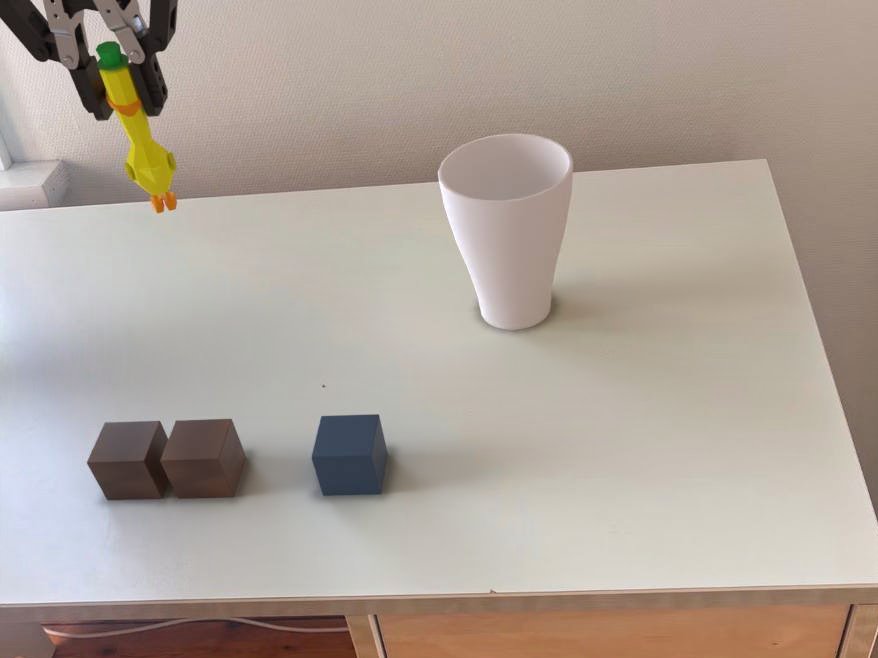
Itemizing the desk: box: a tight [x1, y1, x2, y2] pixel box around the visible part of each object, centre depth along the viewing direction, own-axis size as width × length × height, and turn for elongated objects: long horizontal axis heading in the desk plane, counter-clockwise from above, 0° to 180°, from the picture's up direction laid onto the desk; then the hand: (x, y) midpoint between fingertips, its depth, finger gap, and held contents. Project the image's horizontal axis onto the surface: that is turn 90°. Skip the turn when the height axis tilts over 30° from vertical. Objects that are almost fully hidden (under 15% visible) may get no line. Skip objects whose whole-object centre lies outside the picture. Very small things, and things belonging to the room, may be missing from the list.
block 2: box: [160, 418, 247, 500], centre depth 73 cm, size 4×4×4 cm
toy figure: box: [95, 40, 178, 214], centre depth 70 cm, size 7×4×12 cm, turn 18°
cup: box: [437, 133, 574, 331], centre depth 80 cm, size 10×10×14 cm
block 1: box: [86, 420, 170, 501], centre depth 74 cm, size 4×4×4 cm
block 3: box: [310, 413, 389, 497], centre depth 72 cm, size 4×4×4 cm
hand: (130, 112), depth 69 cm, fingers closed on toy figure, 3 cm apart
